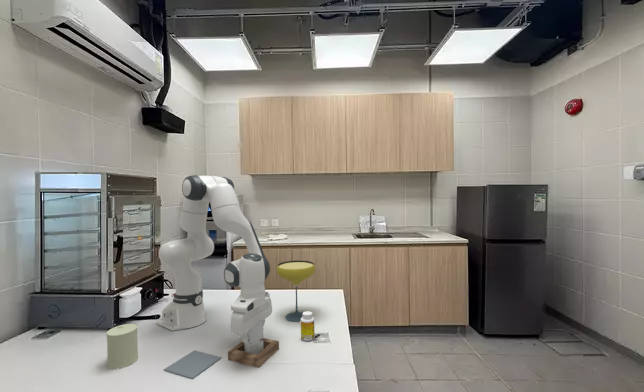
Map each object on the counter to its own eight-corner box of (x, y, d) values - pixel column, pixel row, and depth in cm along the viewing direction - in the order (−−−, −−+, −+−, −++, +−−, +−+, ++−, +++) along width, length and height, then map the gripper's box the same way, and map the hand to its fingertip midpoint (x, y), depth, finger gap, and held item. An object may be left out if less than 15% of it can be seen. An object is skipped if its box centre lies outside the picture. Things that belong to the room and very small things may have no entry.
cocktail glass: (291, 329, 128) (290, 271, 128) (270, 316, 142) (269, 264, 142) (323, 317, 139) (322, 264, 139) (301, 306, 153) (300, 258, 153)
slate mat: (163, 370, 99) (163, 369, 99) (194, 351, 111) (194, 350, 111) (192, 379, 94) (192, 378, 94) (221, 358, 106) (221, 357, 106)
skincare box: (248, 359, 105) (247, 325, 104) (244, 353, 108) (242, 321, 108) (264, 353, 108) (263, 321, 108) (260, 348, 112) (258, 316, 111)
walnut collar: (228, 360, 105) (227, 351, 105) (250, 342, 117) (250, 335, 117) (258, 367, 100) (258, 358, 100) (278, 349, 111) (278, 341, 111)
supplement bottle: (314, 341, 117) (314, 315, 117) (300, 342, 117) (300, 316, 117) (314, 334, 122) (313, 310, 122) (300, 335, 122) (300, 310, 122)
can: (132, 351, 111) (132, 320, 111) (142, 360, 105) (141, 326, 105) (103, 363, 104) (102, 329, 104) (111, 372, 98) (111, 336, 98)
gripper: (262, 289, 119) (262, 323, 119) (227, 307, 100) (228, 348, 100) (275, 291, 116) (276, 326, 116) (242, 310, 98) (243, 351, 98)
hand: (253, 336), depth 108 cm, fingers closed on skincare box, 7 cm apart
